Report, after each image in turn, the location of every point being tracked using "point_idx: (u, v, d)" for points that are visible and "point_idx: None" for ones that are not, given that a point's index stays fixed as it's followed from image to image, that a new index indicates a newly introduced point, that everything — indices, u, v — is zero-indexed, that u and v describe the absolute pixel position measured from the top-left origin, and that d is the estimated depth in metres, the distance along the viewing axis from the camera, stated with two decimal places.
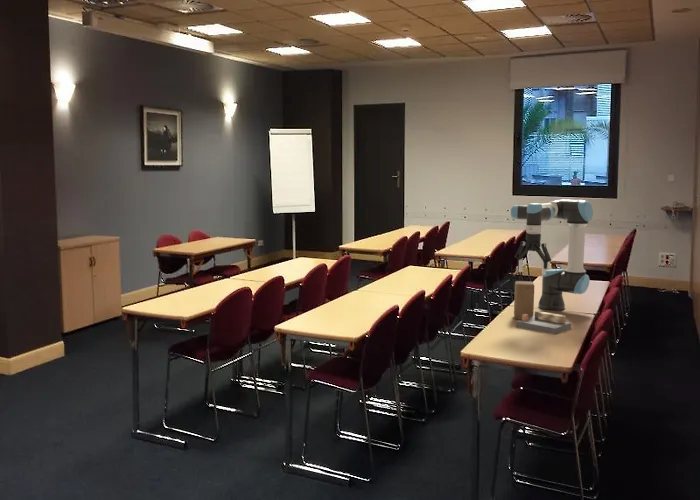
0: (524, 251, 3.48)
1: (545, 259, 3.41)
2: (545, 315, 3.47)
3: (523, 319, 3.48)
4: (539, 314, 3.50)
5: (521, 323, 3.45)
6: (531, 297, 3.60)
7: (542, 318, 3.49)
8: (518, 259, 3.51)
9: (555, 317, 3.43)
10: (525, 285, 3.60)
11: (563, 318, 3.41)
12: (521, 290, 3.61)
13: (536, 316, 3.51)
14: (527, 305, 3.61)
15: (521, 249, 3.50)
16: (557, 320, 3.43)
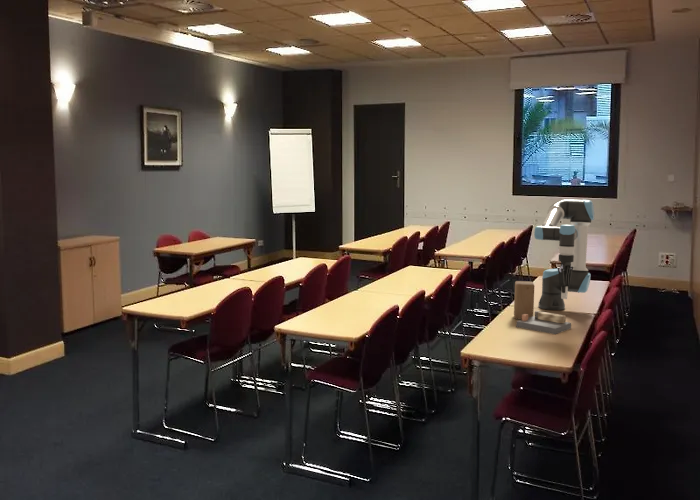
0: None
1: None
2: (545, 315, 3.47)
3: (523, 319, 3.48)
4: (539, 314, 3.50)
5: (521, 323, 3.45)
6: (531, 297, 3.60)
7: (542, 318, 3.49)
8: None
9: (555, 317, 3.43)
10: (525, 285, 3.60)
11: (563, 318, 3.41)
12: (521, 290, 3.61)
13: (536, 316, 3.51)
14: (527, 305, 3.61)
15: (568, 274, 3.49)
16: (557, 320, 3.43)
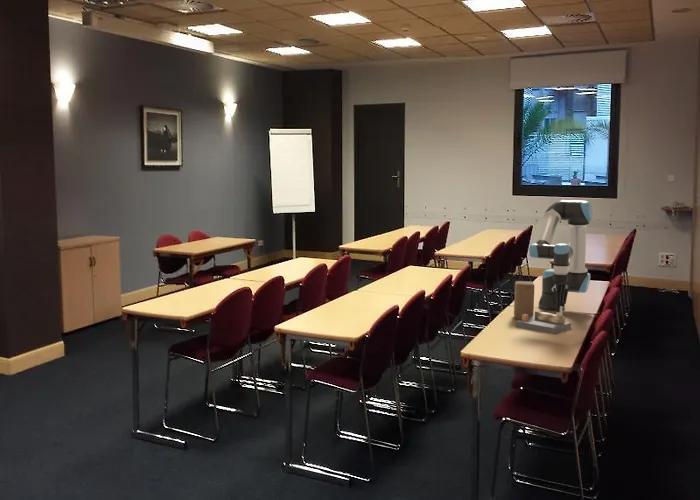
0: None
1: None
2: (544, 315, 3.47)
3: (523, 319, 3.48)
4: (539, 314, 3.50)
5: (521, 323, 3.45)
6: (531, 297, 3.60)
7: (542, 318, 3.49)
8: None
9: (554, 317, 3.43)
10: (525, 285, 3.60)
11: (562, 318, 3.41)
12: (521, 290, 3.61)
13: (536, 316, 3.51)
14: (527, 305, 3.61)
15: (564, 293, 3.46)
16: (556, 320, 3.42)
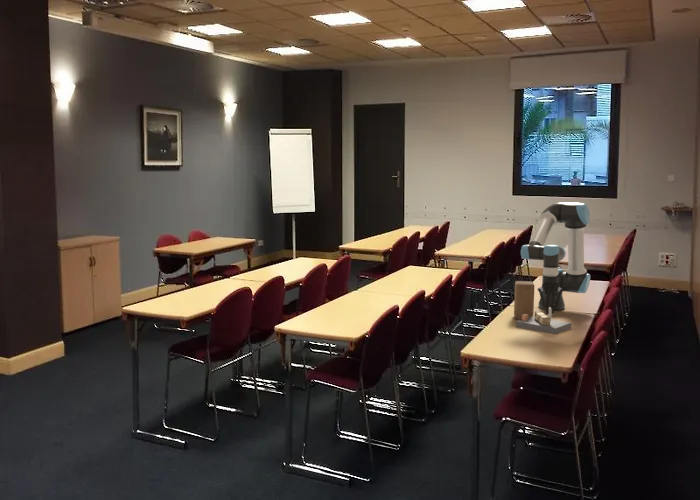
0: None
1: None
2: (537, 315, 3.47)
3: (523, 319, 3.48)
4: (535, 314, 3.50)
5: (521, 323, 3.45)
6: (531, 297, 3.60)
7: (536, 318, 3.49)
8: (550, 306, 3.42)
9: (541, 318, 3.41)
10: (525, 285, 3.60)
11: (545, 320, 3.37)
12: (521, 290, 3.61)
13: None
14: (527, 305, 3.61)
15: (557, 296, 3.39)
16: (541, 321, 3.40)
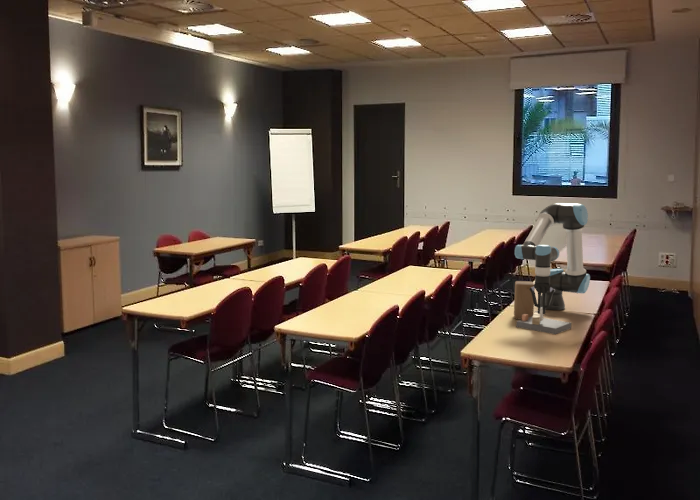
0: None
1: None
2: None
3: (523, 319, 3.48)
4: (534, 313, 3.51)
5: (521, 323, 3.45)
6: (531, 297, 3.60)
7: None
8: None
9: None
10: (525, 285, 3.60)
11: (534, 319, 3.38)
12: (521, 290, 3.61)
13: None
14: (527, 305, 3.61)
15: (549, 296, 3.38)
16: None
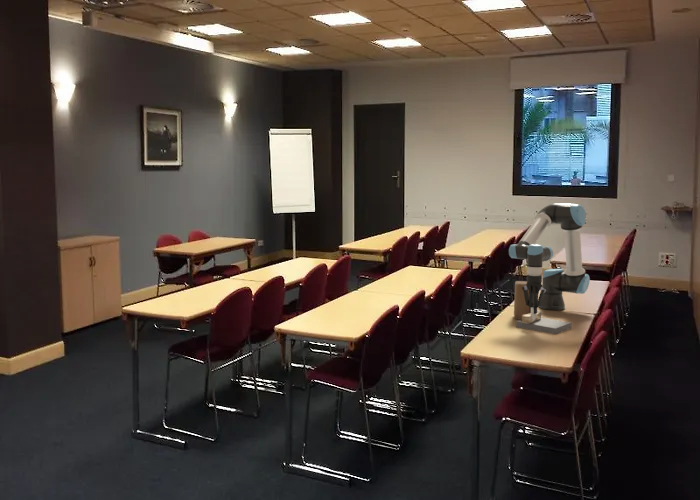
0: None
1: None
2: None
3: None
4: None
5: (521, 323, 3.45)
6: None
7: None
8: None
9: None
10: (525, 285, 3.60)
11: (523, 318, 3.41)
12: (521, 290, 3.61)
13: None
14: (527, 305, 3.61)
15: None
16: None
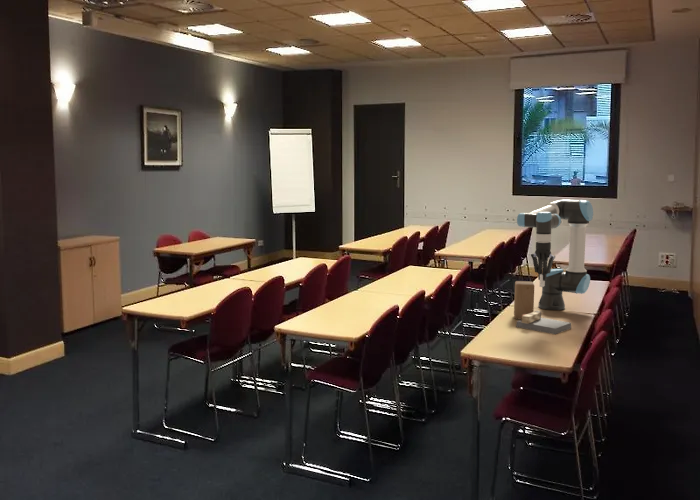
0: None
1: None
2: None
3: None
4: None
5: (521, 323, 3.45)
6: (531, 297, 3.60)
7: None
8: None
9: None
10: (525, 285, 3.60)
11: (523, 318, 3.41)
12: (521, 290, 3.61)
13: None
14: (527, 305, 3.61)
15: None
16: None
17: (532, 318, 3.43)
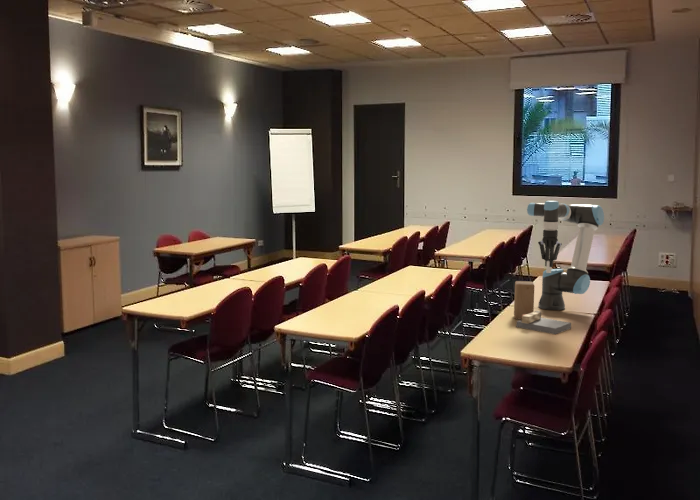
0: None
1: None
2: None
3: None
4: None
5: (521, 323, 3.45)
6: (531, 297, 3.60)
7: None
8: None
9: None
10: (525, 285, 3.60)
11: (523, 318, 3.41)
12: (521, 290, 3.61)
13: None
14: (527, 305, 3.61)
15: None
16: None
17: (532, 318, 3.43)
